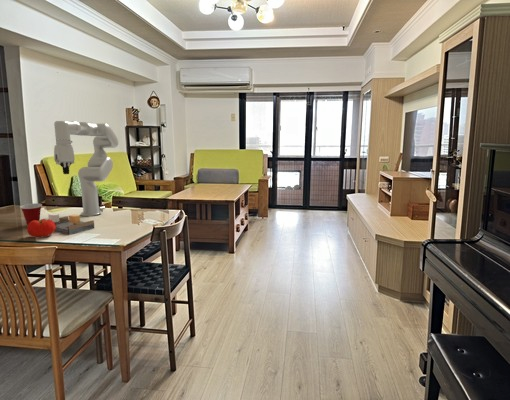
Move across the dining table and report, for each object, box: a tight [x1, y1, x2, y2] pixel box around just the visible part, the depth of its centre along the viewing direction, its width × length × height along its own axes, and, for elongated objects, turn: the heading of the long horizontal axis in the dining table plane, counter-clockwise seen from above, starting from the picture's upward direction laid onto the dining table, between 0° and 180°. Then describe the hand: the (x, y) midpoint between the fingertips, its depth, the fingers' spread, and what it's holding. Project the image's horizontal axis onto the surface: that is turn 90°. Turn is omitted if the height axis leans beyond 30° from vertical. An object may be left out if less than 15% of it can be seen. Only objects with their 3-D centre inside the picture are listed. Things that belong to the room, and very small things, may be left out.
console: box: [54, 215, 95, 235], centre depth 194 cm, size 15×24×4 cm, turn 61°
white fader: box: [47, 212, 60, 224], centre depth 194 cm, size 3×5×5 cm, turn 61°
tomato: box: [26, 218, 56, 239], centre depth 179 cm, size 14×13×9 cm
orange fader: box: [68, 214, 81, 225], centre depth 190 cm, size 3×5×5 cm, turn 61°
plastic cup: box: [19, 203, 43, 226], centre depth 201 cm, size 11×11×12 cm
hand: (66, 173), depth 206 cm, fingers closed
